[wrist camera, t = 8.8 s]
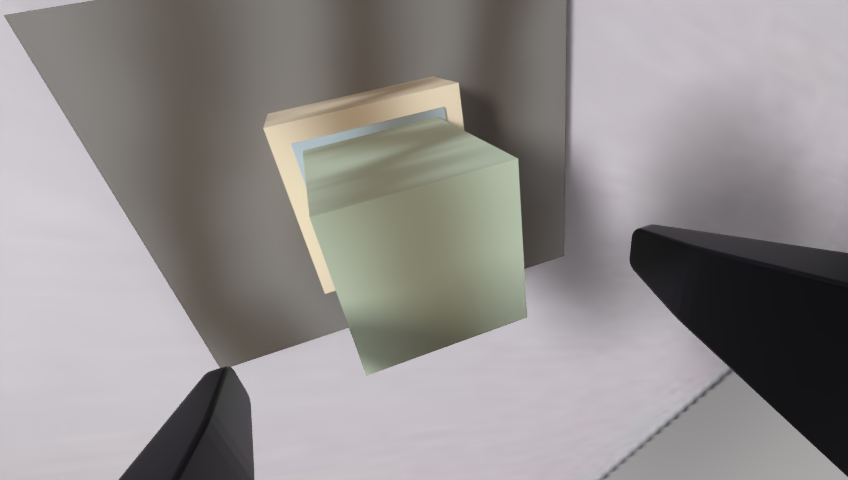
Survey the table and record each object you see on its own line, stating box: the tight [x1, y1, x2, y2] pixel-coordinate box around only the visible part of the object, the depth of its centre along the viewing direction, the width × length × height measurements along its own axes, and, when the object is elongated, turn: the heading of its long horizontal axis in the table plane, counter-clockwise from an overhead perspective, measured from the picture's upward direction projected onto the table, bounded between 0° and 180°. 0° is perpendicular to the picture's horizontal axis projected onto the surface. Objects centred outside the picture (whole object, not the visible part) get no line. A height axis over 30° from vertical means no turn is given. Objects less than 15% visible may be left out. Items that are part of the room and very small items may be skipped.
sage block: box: [303, 117, 527, 376], centre depth 13 cm, size 5×5×6 cm
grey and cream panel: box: [4, 0, 567, 368], centre depth 17 cm, size 20×16×4 cm
